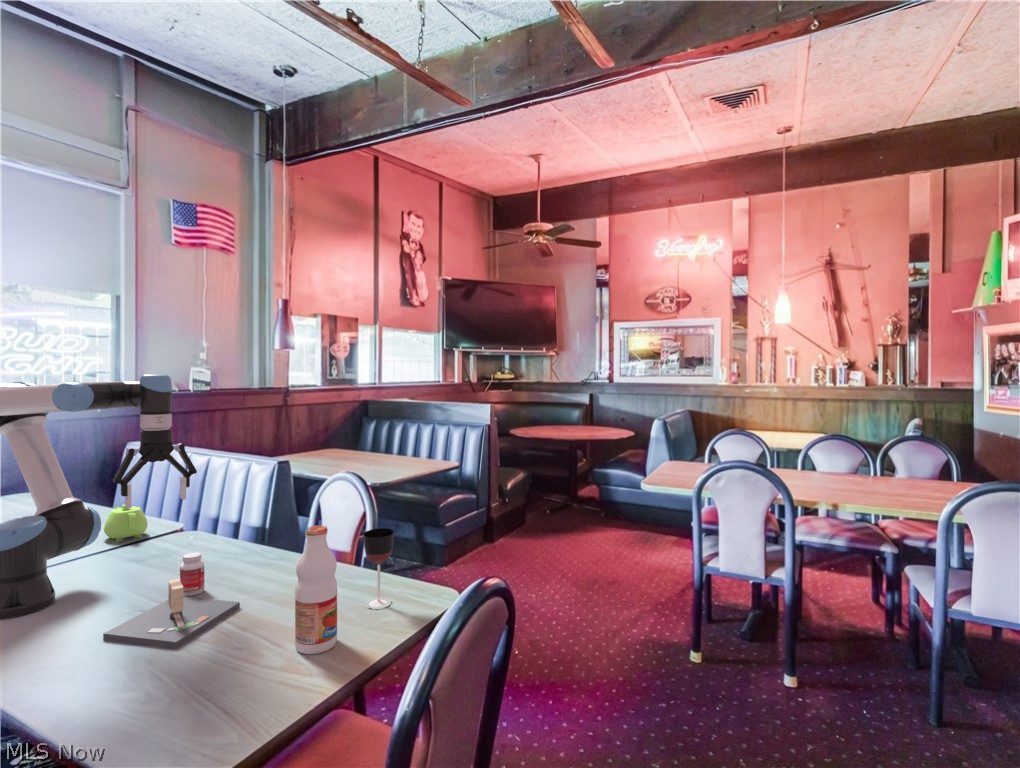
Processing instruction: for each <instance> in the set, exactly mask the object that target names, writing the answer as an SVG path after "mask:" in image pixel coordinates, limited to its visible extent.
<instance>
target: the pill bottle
mask: <svg viewBox="0 0 1020 768" xmlns="http://www.w3.org/2000/svg"><path fill="white" fill-rule="evenodd" d="M179 579H180V581H181V583H182V585H183V597H193V596H197V595H200V594H201V593H203V592H205V562H204V560H202V553H201V552H197V551H196V552H189V553H185V554H183V555H182V563H181V564H180V566H179Z"/></svg>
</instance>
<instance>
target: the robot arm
mask: <svg viewBox="0 0 1020 768" xmlns="http://www.w3.org/2000/svg"><path fill="white" fill-rule="evenodd" d="M139 377H140V378H139V381H133V380H132V381H130V380H110V381H109V380H108V381H69V382H68V381H67V382H62V383H53V384H39V385H38V384H36V383H32V382H23V381H13V382H0V434H1V435H4V436H6V438H7V441H8V443H9V445H10V447H11V448H10V449H11V450H12V453H13V455H14V458H15V460H16V463H17V464H18V467H19V470H20V473H21V474H22V477H23V479H24V481H25V484H26V486H27V488H28V491H29V493H30V496H31V498H32V501H33V503H34V506H35V508H36V511H35V513H34V514H33V515H27V516H23V517H20V518H19V517H17V518H13V519H8V520H6V521H4V522H1V523H0V620H4V619H5V620H6V619H10V618H16V617H17V618H18V617H21V616H26V615H28V614H32V613H35V612H38V611H40V610H43V609H45V608H48V607H49V606H51V605H52V604H53V603H54V602H55V601H56V590H55V588H54V587H53V584H52V581H51V580H50V577H49V576H48V573H47V572H48V570H47V569H48V567H47V566H48V565H47V561H49V560H52V559H55V558H56V557H60V556H63V555H66V554H69V553H72V552H77V551H79V550H81V549H83V548H85V547H89V546H90V545H92V544H93V543H94V542H95V541H96V540H97V539H98V537H99V535H100V532H101V531H102V520H101V516H100V513H99V512H98V511H97V510H96V509H94V508H93V507H90V506H85V505H84V502H83V500H82V499H81V498H80V499H79V498H77V497H74V496H73V493H72V490H71V488H70V486H69V484H68V481H67V479H66V477H65V474H64V472H63V469H62V466H61V465H60V462H59V460H58V458H57V455H56V453H55V449H54V448H53V446H52V443H51V441H50V439H49V436H48V433H47V431H46V430H45V427H44V425H45V424H46V422H47V420H48V417H47V416H48V415H49V413H61V412H62V413H63V412H70V413H71V412H72V413H75V412H83V411H85V412H86V411H94V410H108V409H109V410H110V409H119V408H120V409H121V408H139V410H140V411H139V414H140V415H139V416H140V417H139V419H140V420H139V422H140V424H139V425H140V426H139V428H140V429H141V431H140V432H139V433H140V436H139V437H140V439H139V440H140V442H139V443H140V446H139V447H138V448H137V447H135V448H134V447H133V448H132V447H127V448H126V450H125V451H126V452H125V456H124V458H123V459H122V462H121V464H120V465H119V467H118V469H117V471H116V473H115V474H114V476H113V477H112V482H113V483H114V484H115V485H117V484H118V485H120V495H121V496H122V497H124V505H125V507H126V508H128V509H129V508H131V506H132V484H131V483H130V482H131V481H132V480H133V479H134V477H135V476H136V475H137V474H138V473H139V472H140V471H141V470H142V468H143V467H144V466H145V465H146V464H147V463H148V462H149V463H156V462H165V460H166V461H167V462H169V463H170V465H172V466H173V467H174V468H175V469H176V470H177V471H178V472H179V473H180V474H181V476H179V498H180V500H182V501H183V500H184V501H185V500H187V488H190V485H191V483H190V482H191V481H190V480H191V477H192V476H193V475H195V474H197V473H198V470H197V468H196V467H195V465H194V464H193V462H192V460H191V458H190V457H189V455H188V453H187V451H186V447H185V444H184V443H181V442H179V443H177V444H174V445H173V429H171V427H172V426H173V425H172V423H173V419H172V418H173V417H172V416H173V414H172V403H173V402H172V401H173V400H172V399H173V398H172V397H173V387H172V377H171V376H170V375H168V374H141V376H139ZM174 450H175V451H176V452H177V453H178V454H179V456H180V458H181V459H182V461H183V463H184V465H185V466H186V468H187V469H186V468H185V467H184V466H183V465H182V464H180V462H179V461H177V460H176V459H175V457H173V455H171V454H172V452H174ZM138 453H139V454H140V455H141V457H139V459H138V460H137V462H136V463H135V464H134V465H133V466H132V467H131V468H130V470H128V468H129V467H130V465H131V463H132V461H133V459H134V457H136V455H137V454H138ZM127 470H128V472H127ZM126 472H127V473H126Z"/></svg>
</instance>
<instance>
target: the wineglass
mask: <svg viewBox="0 0 1020 768" xmlns="http://www.w3.org/2000/svg"><path fill="white" fill-rule="evenodd" d="M394 539H395V531H394V530H393V529H392V528H385V527H383V528H381V527H380V528H374V529H369V530H367V531H365V532H364V533H363V545H364V552H365V553H364V554H365V556H366V559H367V560H368V561H369V562H371V563H373V564H376V565H377V566H376V567H377V569H376V570H377V575H376V576H377V578H376V579H377V580H376V581H377V582H376V583H377V585H376V586H377V588H376V589H377V590H376V592H377V593H376V595H377V596H376V597H377V598H376V599H377V600H373V601H371V602H370V603H369V605H370V606H372V607H374V606H375V607H379V606H382V605H385V604H386V603H387V601H385V600H382V599H381V600H380V598H381V564H383V563H384V562H385V561H387V560H388V559H389V558H390V557H391V555H392V552H393V548H394Z"/></svg>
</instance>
